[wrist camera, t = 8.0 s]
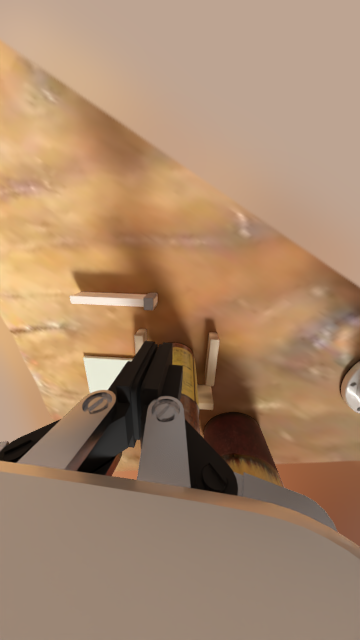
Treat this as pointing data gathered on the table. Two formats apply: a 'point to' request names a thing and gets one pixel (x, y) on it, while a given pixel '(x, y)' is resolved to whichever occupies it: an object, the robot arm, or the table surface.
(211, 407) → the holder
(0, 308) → the table surface
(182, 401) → the sauce bottle
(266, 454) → the vase
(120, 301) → the bar
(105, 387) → the tile
